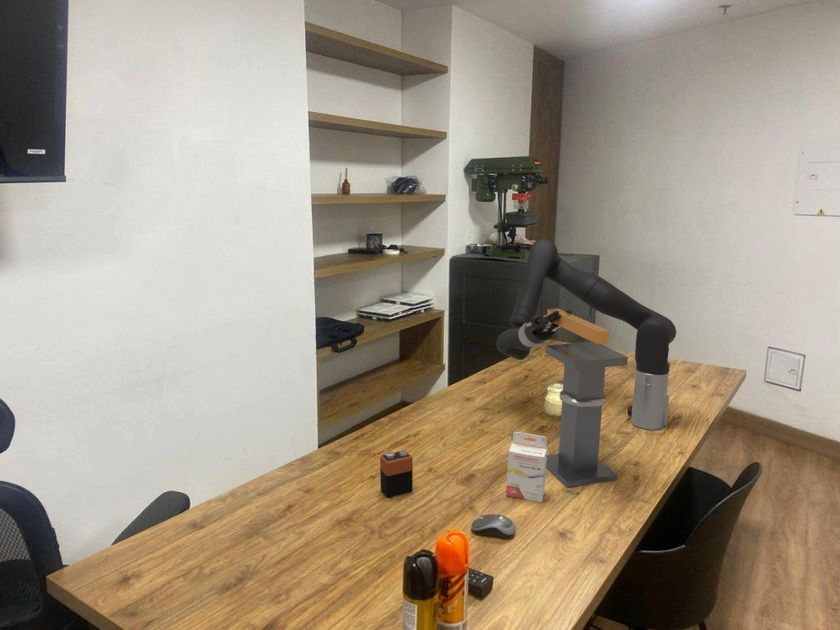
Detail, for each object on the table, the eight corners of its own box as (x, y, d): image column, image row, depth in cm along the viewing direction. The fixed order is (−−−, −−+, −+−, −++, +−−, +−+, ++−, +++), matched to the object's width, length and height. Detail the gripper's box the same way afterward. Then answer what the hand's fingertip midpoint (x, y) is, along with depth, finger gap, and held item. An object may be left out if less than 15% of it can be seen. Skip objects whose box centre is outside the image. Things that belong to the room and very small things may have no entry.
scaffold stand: (586, 454, 159) (594, 341, 151) (616, 479, 146) (627, 357, 138) (539, 461, 155) (546, 345, 148) (566, 487, 142) (575, 361, 135)
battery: (379, 489, 141) (379, 451, 139) (405, 483, 144) (405, 445, 142) (387, 498, 137) (386, 459, 135) (413, 491, 140) (413, 453, 138)
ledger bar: (557, 319, 158) (557, 308, 158) (608, 343, 136) (609, 330, 135) (547, 319, 158) (547, 309, 157) (597, 344, 135) (598, 331, 135)
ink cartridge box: (505, 496, 138) (507, 438, 135) (509, 486, 143) (511, 430, 139) (542, 503, 135) (545, 444, 132) (545, 492, 140) (548, 435, 137)
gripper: (511, 320, 167) (537, 301, 151) (555, 317, 171) (585, 298, 155) (515, 346, 165) (542, 329, 149) (560, 342, 169) (591, 325, 153)
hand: (564, 313), depth 152 cm, fingers closed on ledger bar, 3 cm apart
